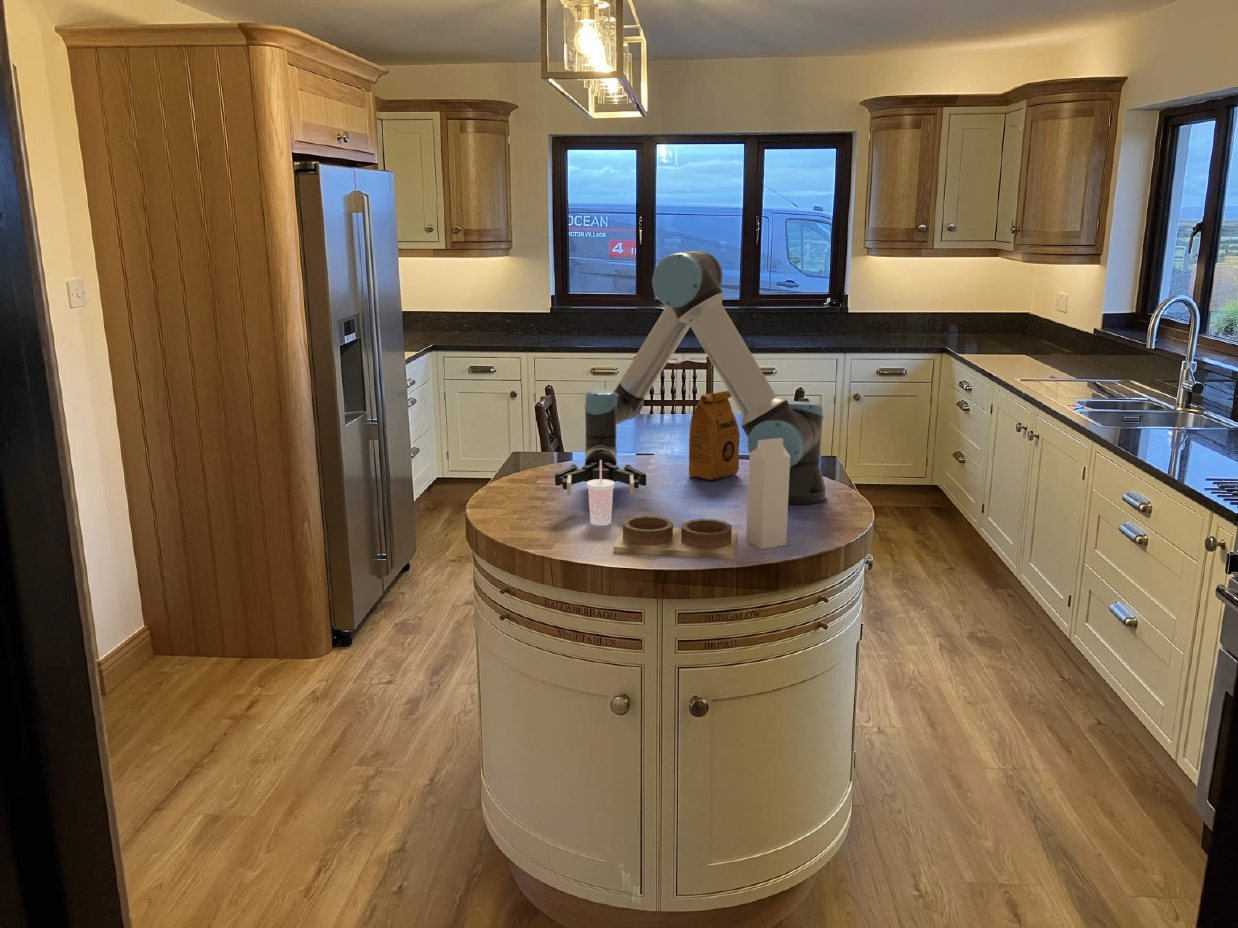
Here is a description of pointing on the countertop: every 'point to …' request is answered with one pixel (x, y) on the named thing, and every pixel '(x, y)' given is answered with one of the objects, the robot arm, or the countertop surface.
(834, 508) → the countertop surface
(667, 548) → the socket board
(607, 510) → the beverage cup
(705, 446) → the coffee package
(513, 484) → the countertop surface
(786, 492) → the milk
